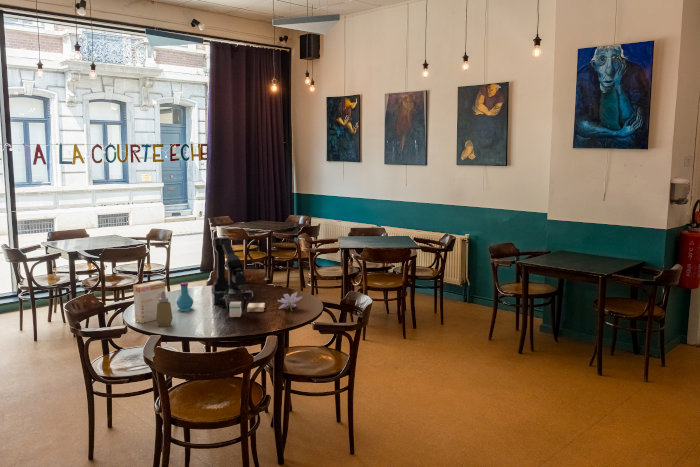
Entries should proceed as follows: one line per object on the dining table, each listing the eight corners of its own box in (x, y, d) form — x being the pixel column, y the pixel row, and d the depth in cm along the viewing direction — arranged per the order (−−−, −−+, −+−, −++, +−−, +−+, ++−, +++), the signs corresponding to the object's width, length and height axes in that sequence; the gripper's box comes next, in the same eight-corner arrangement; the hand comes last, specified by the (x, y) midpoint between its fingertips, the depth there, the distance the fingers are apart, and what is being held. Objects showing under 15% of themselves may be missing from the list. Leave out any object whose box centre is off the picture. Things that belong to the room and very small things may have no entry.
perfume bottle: (197, 308, 344) (196, 282, 342) (186, 312, 336) (185, 285, 333) (184, 306, 348) (183, 280, 345) (173, 310, 339) (172, 284, 337)
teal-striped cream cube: (229, 317, 326) (229, 304, 325) (231, 314, 331) (230, 301, 330) (240, 316, 326) (239, 304, 325) (241, 313, 332) (241, 301, 331)
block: (247, 312, 335) (247, 307, 335) (248, 308, 344) (248, 303, 344) (263, 312, 336) (263, 307, 335) (264, 308, 345) (264, 302, 344)
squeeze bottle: (158, 323, 314) (156, 289, 312) (174, 323, 315) (172, 289, 312) (154, 328, 306) (153, 293, 304) (171, 327, 307) (169, 292, 304)
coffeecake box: (161, 315, 330) (159, 280, 327) (167, 317, 325) (165, 282, 322) (134, 320, 319) (132, 284, 316) (140, 323, 314) (138, 286, 311)
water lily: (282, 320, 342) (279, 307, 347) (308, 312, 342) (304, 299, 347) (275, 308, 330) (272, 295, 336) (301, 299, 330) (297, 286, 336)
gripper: (214, 285, 317) (215, 314, 320) (250, 284, 319) (251, 313, 321) (217, 280, 328) (218, 308, 331) (252, 280, 330) (253, 308, 332)
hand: (235, 309), depth 328 cm, fingers open, 9 cm apart
